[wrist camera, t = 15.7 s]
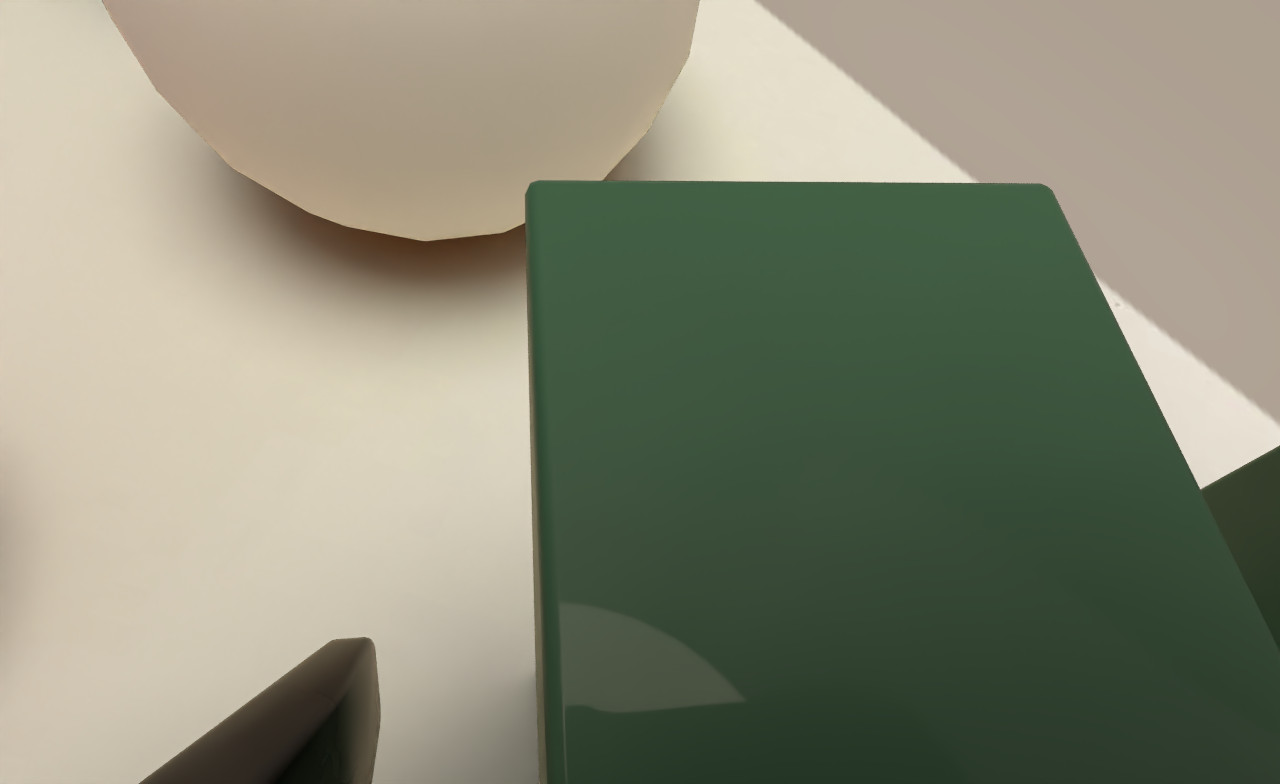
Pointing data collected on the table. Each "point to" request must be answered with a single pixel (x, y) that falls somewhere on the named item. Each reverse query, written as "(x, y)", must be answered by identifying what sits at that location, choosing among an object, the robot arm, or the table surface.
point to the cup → (413, 97)
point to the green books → (1253, 528)
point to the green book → (864, 501)
